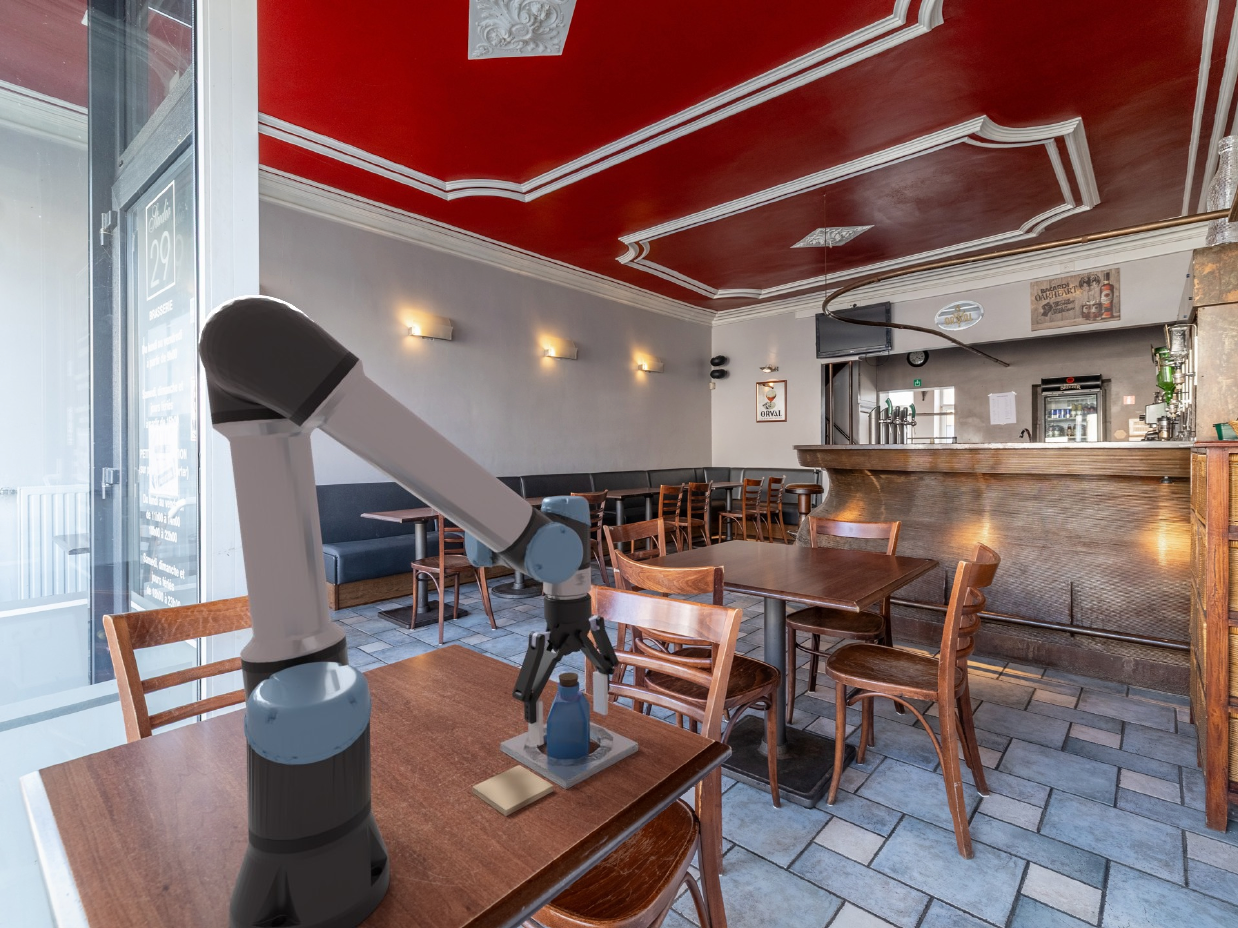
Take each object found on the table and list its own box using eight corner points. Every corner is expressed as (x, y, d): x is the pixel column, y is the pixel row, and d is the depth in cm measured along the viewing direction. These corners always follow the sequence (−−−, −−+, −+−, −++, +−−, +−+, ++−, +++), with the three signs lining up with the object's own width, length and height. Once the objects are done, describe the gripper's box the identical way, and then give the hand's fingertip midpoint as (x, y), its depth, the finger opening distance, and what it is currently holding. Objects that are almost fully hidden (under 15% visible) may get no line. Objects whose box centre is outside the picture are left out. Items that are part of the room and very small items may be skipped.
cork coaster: (505, 816, 77) (505, 810, 77) (472, 792, 83) (472, 786, 83) (553, 790, 83) (553, 785, 83) (519, 769, 89) (519, 764, 89)
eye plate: (566, 789, 84) (566, 780, 84) (500, 750, 95) (500, 742, 95) (638, 750, 94) (638, 742, 94) (571, 719, 105) (571, 712, 105)
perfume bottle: (587, 760, 91) (586, 683, 91) (547, 760, 92) (546, 683, 91) (589, 741, 98) (589, 668, 97) (552, 741, 98) (551, 668, 97)
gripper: (517, 614, 83) (520, 765, 83) (638, 583, 100) (640, 707, 101) (486, 605, 88) (489, 747, 88) (606, 577, 106) (608, 695, 106)
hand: (570, 726), depth 95 cm, fingers open, 13 cm apart
